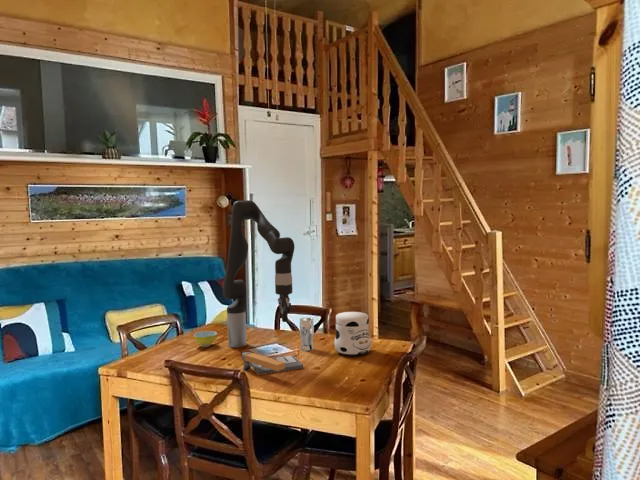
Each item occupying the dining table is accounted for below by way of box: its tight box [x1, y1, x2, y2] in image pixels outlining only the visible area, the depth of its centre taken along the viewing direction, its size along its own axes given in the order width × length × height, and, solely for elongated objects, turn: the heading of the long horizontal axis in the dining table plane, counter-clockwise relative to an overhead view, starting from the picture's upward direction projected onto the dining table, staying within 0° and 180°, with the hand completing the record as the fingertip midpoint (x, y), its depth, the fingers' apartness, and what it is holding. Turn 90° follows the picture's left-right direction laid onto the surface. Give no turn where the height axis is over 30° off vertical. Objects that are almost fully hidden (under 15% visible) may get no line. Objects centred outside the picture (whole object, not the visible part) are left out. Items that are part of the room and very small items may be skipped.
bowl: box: [193, 330, 218, 348], centre depth 246 cm, size 11×12×6 cm
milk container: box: [333, 311, 372, 357], centre depth 228 cm, size 17×17×18 cm
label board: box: [251, 355, 304, 375], centre depth 211 cm, size 14×20×2 cm
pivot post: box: [243, 360, 252, 371], centre depth 209 cm, size 3×3×4 cm
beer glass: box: [299, 317, 315, 352], centre depth 235 cm, size 7×7×15 cm
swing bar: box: [241, 351, 285, 371], centre depth 202 cm, size 24×4×2 cm, turn 47°
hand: (284, 321), depth 214 cm, fingers closed
